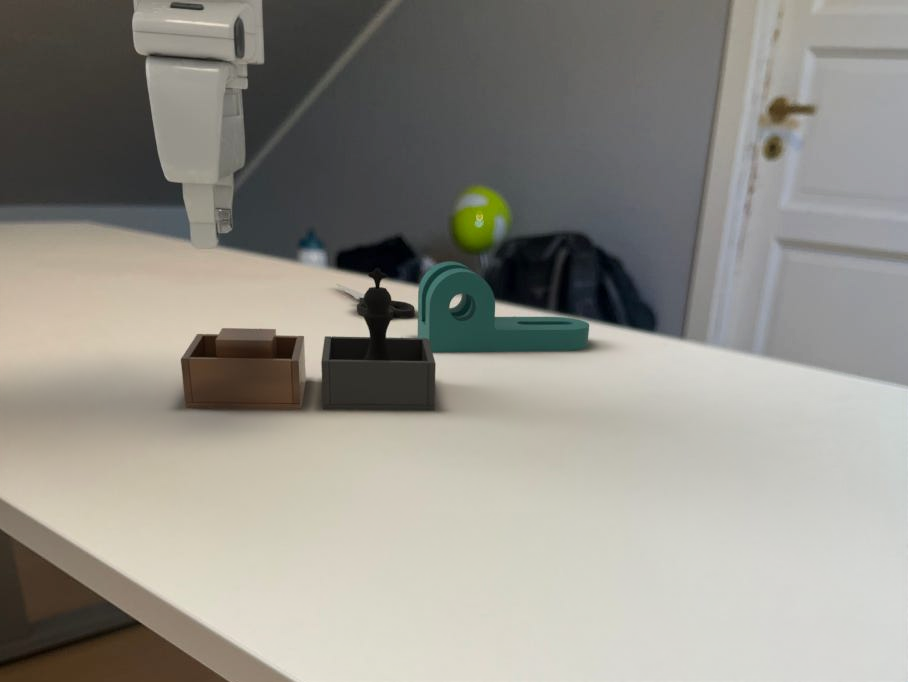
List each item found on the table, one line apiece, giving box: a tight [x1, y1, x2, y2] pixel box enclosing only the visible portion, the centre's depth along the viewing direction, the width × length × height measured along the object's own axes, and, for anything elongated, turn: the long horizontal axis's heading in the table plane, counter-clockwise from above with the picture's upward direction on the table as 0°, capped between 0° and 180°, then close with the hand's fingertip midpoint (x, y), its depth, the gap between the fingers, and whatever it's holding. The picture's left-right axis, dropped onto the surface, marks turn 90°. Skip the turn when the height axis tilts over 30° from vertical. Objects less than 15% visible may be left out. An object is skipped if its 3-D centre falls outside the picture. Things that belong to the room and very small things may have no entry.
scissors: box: [335, 283, 416, 319], centre depth 120 cm, size 7×1×20 cm
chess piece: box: [363, 267, 393, 361], centre depth 82 cm, size 4×4×10 cm
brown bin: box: [180, 333, 307, 410], centre depth 82 cm, size 9×9×4 cm
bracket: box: [417, 261, 590, 353], centre depth 102 cm, size 18×7×8 cm, turn 103°
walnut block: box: [216, 327, 277, 359], centre depth 82 cm, size 4×4×4 cm
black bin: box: [320, 335, 436, 412], centre depth 83 cm, size 9×9×4 cm
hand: (213, 239), depth 76 cm, fingers open, 8 cm apart
